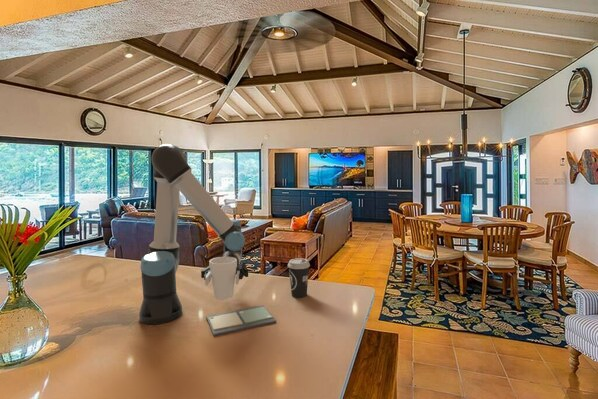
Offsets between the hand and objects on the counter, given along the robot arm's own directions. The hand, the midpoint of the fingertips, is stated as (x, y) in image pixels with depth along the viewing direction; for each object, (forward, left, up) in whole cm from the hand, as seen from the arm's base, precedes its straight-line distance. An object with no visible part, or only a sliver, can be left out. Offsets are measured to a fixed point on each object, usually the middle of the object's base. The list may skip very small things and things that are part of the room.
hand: (221, 280), depth 117 cm
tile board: (+7, +4, -17) cm, 19 cm away
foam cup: (+1, +4, -7) cm, 8 cm away
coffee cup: (+36, +17, -17) cm, 43 cm away
